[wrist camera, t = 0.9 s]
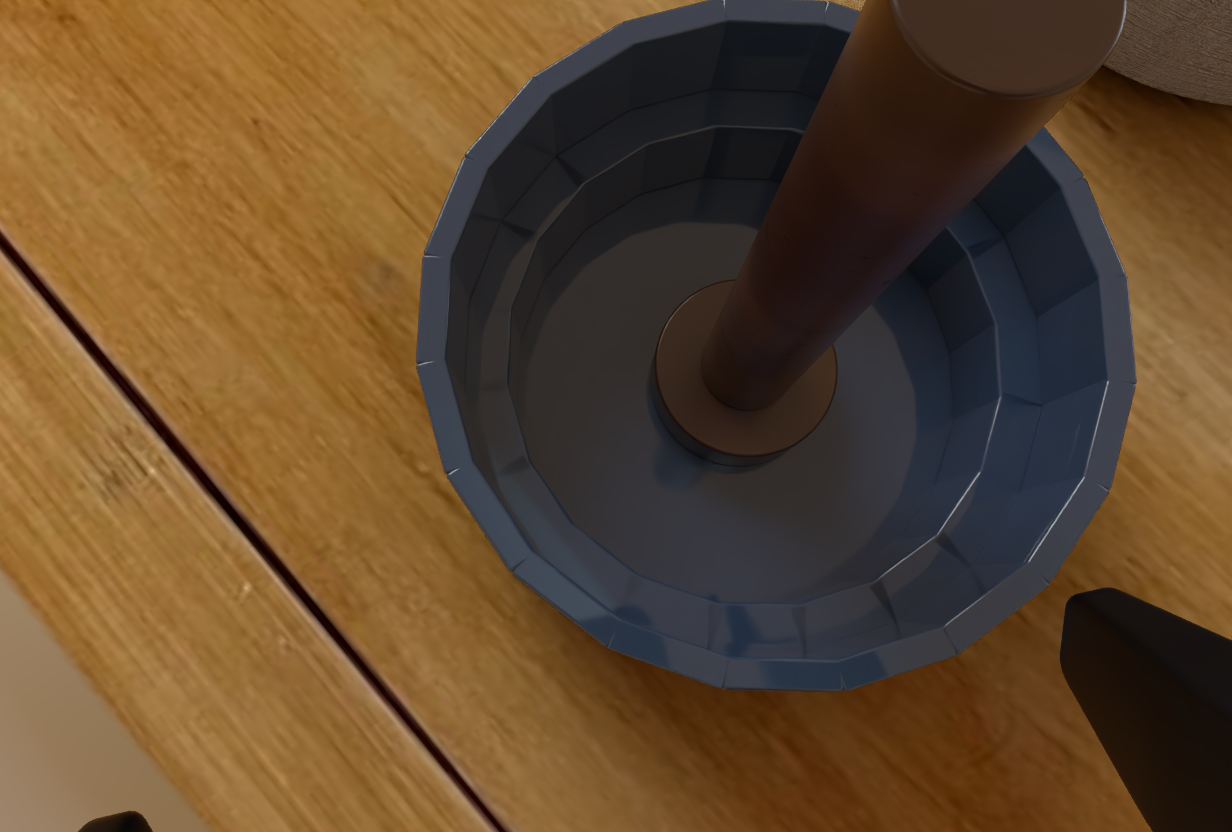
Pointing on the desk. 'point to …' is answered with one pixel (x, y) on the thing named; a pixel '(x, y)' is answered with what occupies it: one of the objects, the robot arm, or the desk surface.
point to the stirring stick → (867, 204)
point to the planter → (1178, 47)
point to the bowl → (866, 357)
